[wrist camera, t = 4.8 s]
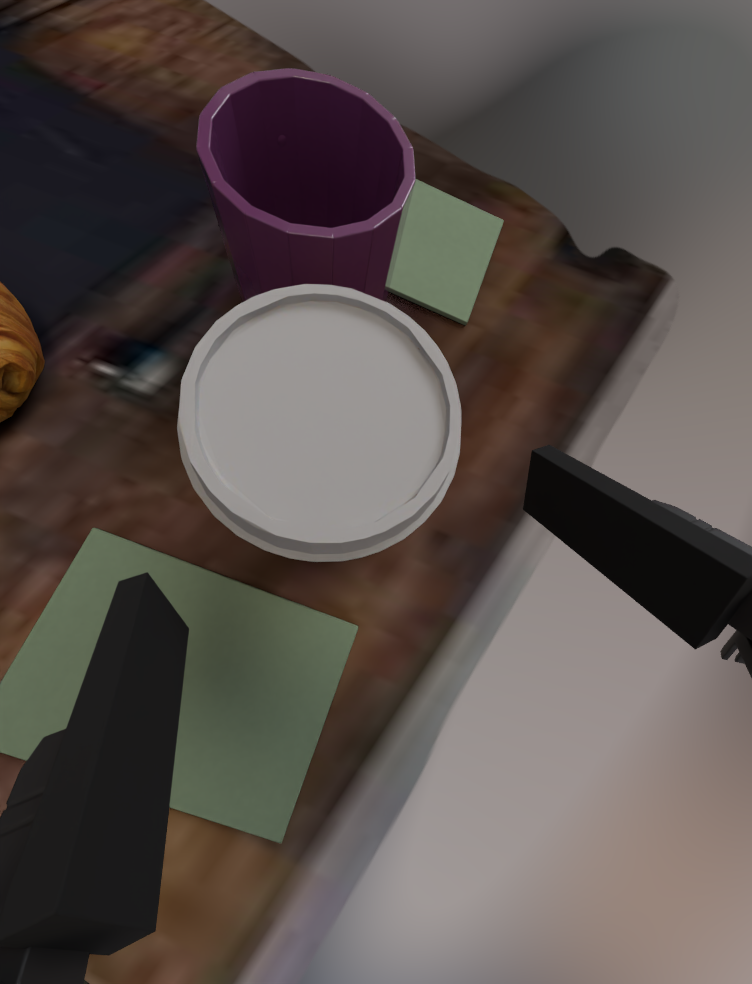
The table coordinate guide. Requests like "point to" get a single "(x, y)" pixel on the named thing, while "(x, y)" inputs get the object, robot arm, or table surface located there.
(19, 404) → the croissant
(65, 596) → the cup mat
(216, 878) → the table surface
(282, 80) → the plum mug
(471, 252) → the mug mat
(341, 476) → the disposable coffee cup
